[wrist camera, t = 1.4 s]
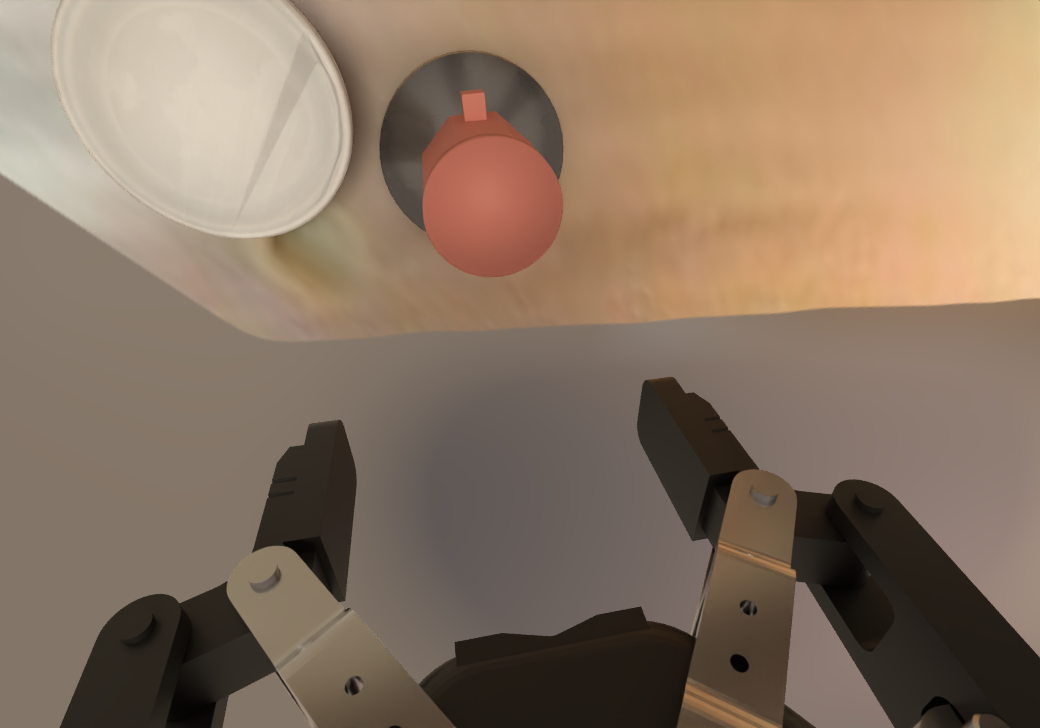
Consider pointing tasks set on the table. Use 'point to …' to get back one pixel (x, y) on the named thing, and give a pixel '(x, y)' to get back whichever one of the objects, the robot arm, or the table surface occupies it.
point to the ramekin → (207, 108)
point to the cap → (488, 193)
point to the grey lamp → (438, 97)
